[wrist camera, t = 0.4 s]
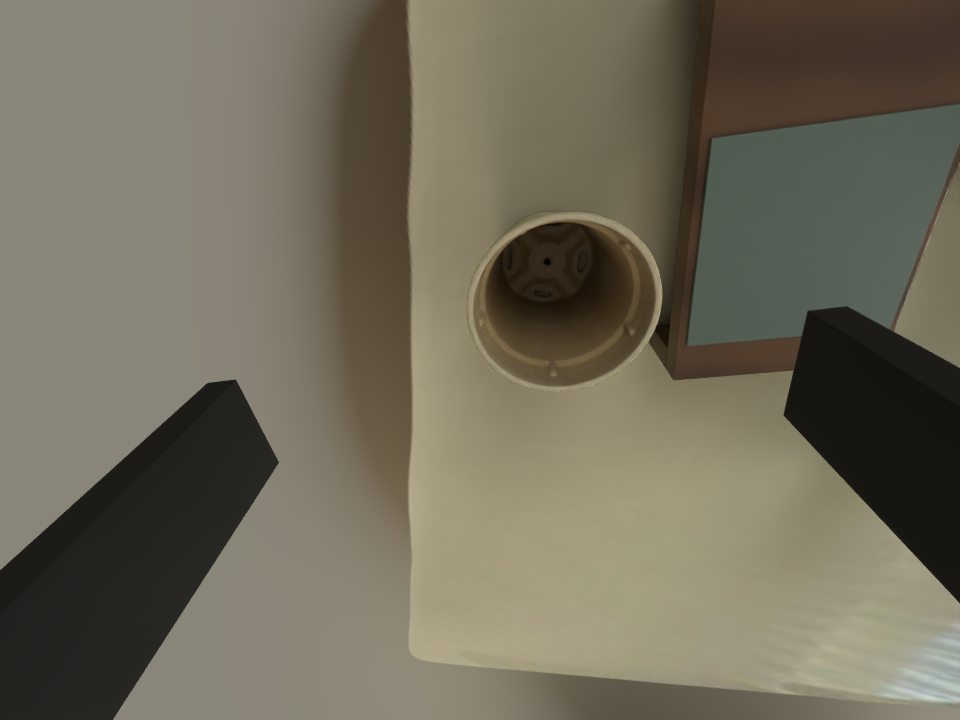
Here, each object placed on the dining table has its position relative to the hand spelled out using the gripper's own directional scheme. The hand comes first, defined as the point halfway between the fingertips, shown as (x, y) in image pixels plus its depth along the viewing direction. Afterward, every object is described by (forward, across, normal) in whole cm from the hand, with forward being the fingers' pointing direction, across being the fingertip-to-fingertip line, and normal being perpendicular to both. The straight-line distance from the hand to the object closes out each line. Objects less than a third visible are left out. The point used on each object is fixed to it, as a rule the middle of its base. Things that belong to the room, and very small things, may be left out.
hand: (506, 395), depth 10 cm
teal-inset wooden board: (+20, +16, +1) cm, 25 cm away
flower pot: (+20, +2, -3) cm, 20 cm away
